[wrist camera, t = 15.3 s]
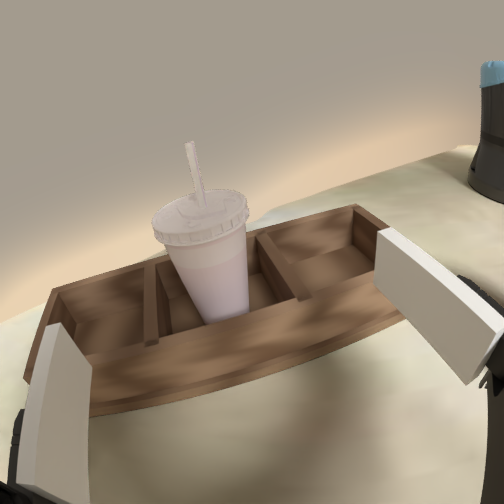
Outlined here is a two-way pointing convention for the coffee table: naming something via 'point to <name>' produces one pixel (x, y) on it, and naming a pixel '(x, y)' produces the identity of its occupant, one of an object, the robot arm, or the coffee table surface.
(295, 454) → the coffee table surface
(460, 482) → the coffee table surface
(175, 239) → the smoothie
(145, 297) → the caddy
